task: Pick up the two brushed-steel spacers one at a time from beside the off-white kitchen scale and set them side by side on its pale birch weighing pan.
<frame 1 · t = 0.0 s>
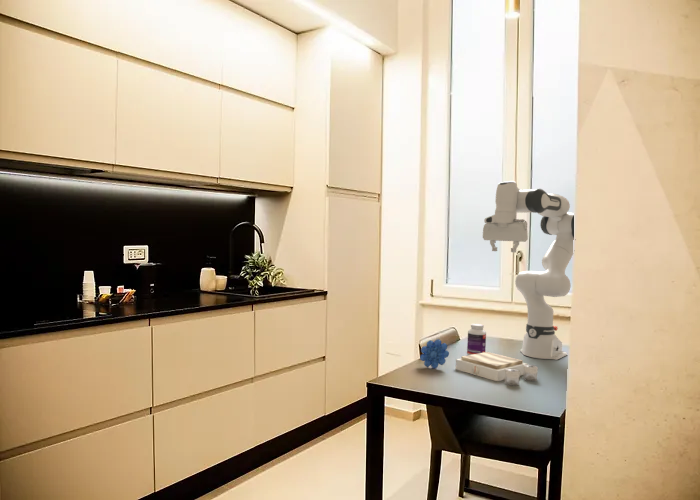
hand: (503, 251, 218), 48 cm above the table, fingers open, 8 cm apart
pill bottle: (475, 356, 232), on the table
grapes: (434, 368, 209), on the table
spacer a: (530, 379, 197), on the table
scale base: (491, 371, 206), on the table
spacer b: (511, 384, 190), on the table
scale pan: (491, 360, 206), point 5 cm above the table, slide at 0.5 cm
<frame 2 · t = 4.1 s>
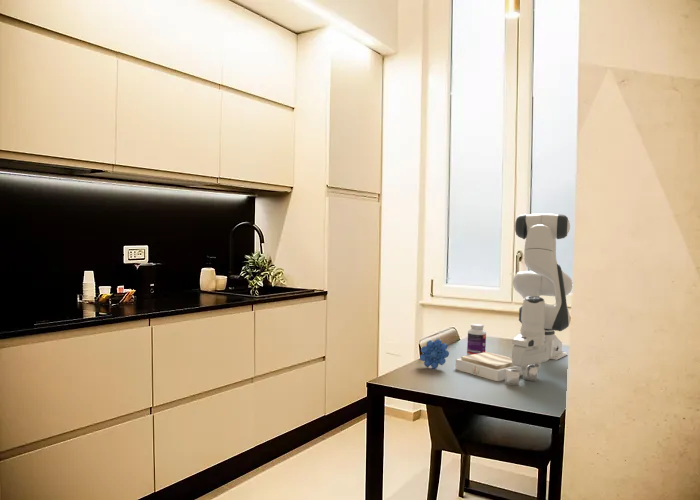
hand: (530, 375, 197), 2 cm above the table, fingers closed on spacer a, 5 cm apart
spacer a: (530, 379, 197), on the table, touching gripper
everything else where it was.
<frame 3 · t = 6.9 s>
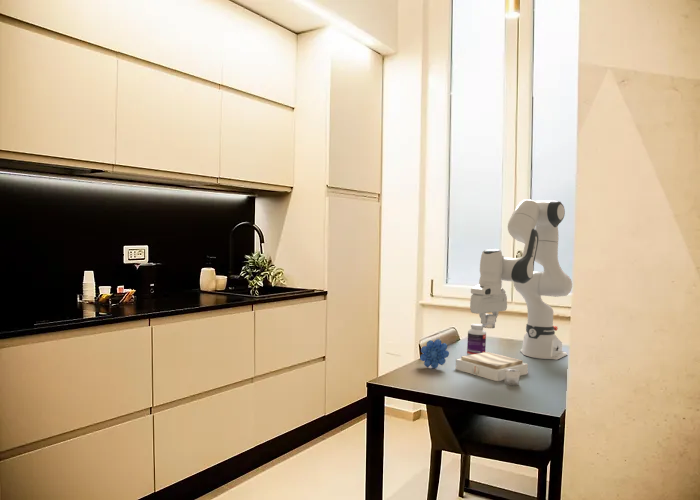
hand: (488, 323, 208), 19 cm above the table, fingers closed on spacer a, 5 cm apart
spacer a: (488, 327, 208), point 17 cm above the table, touching gripper
everything else where it was.
when the fingers open (9 cm above the table, at t = 9.5 s): spacer a drops 2 cm, resting on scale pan.
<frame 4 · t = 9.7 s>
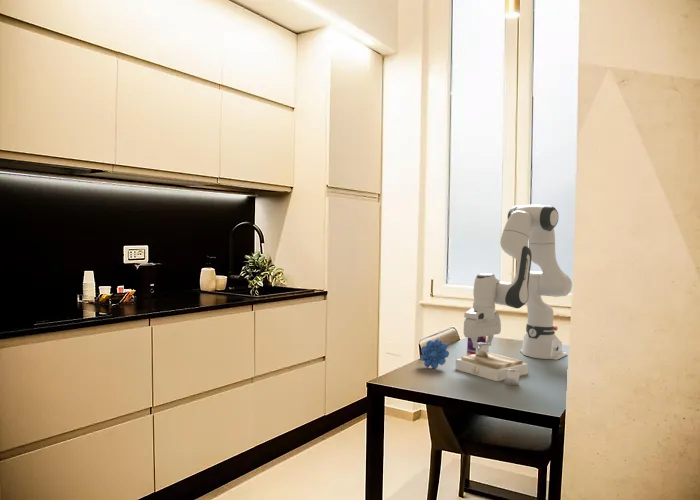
hand: (482, 346, 210), 9 cm above the table, fingers open, 7 cm apart
spacer a: (481, 355, 210), point 5 cm above the table, touching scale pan
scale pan: (491, 360, 206), point 5 cm above the table, slide at 0.6 cm, touching spacer a
everything else where it was.
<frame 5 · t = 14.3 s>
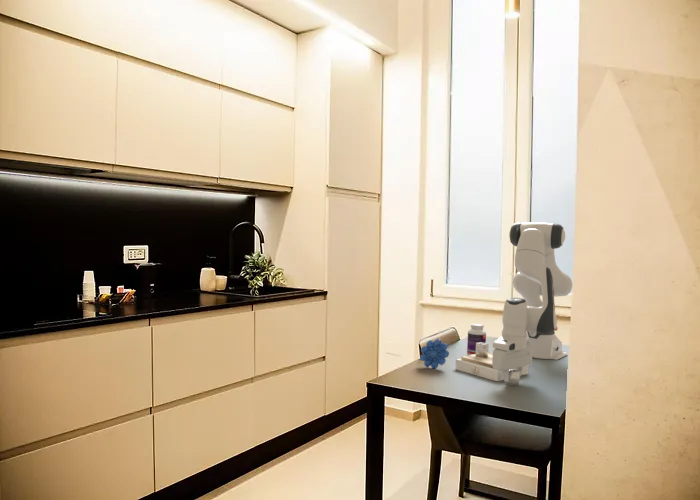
hand: (512, 379, 190), 2 cm above the table, fingers closed on spacer b, 5 cm apart
spacer b: (511, 384, 190), on the table, touching gripper
everything else where it was.
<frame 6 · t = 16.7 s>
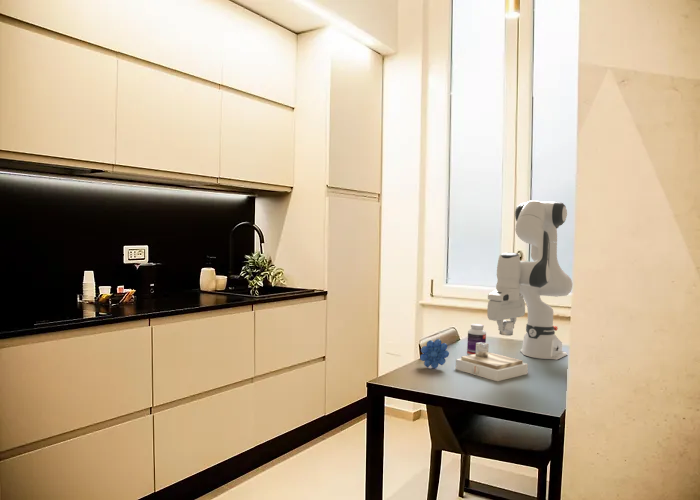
hand: (506, 329, 200), 18 cm above the table, fingers closed on spacer b, 5 cm apart
spacer b: (506, 334, 200), point 16 cm above the table, touching gripper
everything else where it was.
when the fingers open (9 cm above the table, at t = 19.2 s): spacer b drops 2 cm, resting on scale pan.
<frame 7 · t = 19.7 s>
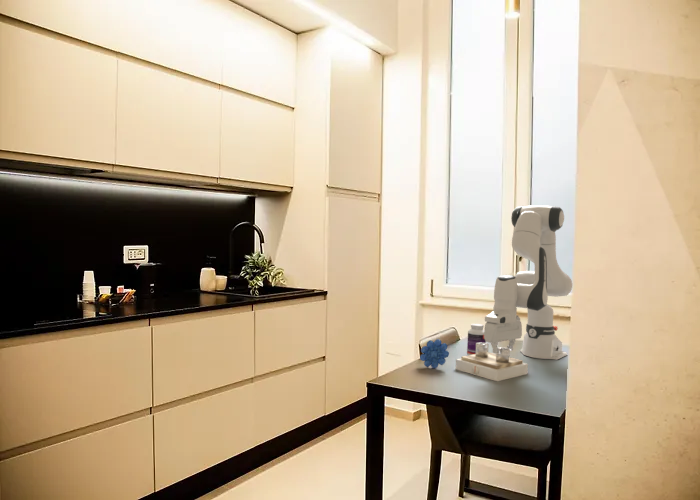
hand: (502, 351, 202), 9 cm above the table, fingers open, 8 cm apart
spacer b: (502, 361, 202), point 5 cm above the table, touching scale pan
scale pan: (491, 360, 206), point 5 cm above the table, slide at 0.6 cm, touching spacer a, spacer b
everything else where it was.
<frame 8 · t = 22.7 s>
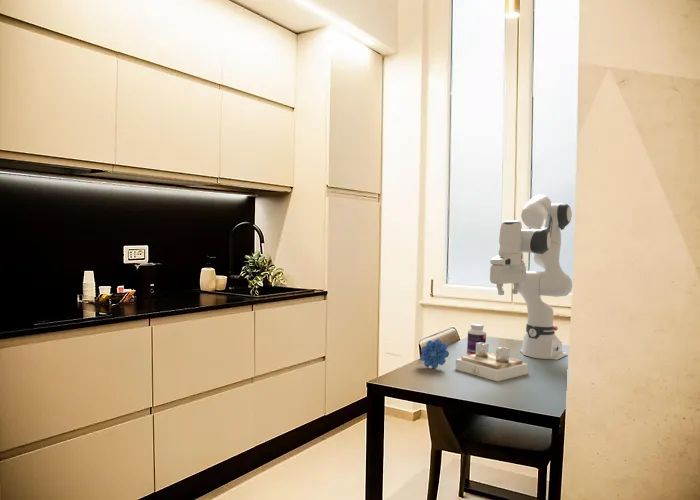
hand: (508, 294, 208), 31 cm above the table, fingers open, 8 cm apart
nothing on the table moved.
at the end: spacer a inside the target area on the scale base (0.8 cm from its centre), point 5.2 cm above the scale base's base; spacer b inside the target area on the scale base (0.8 cm from its centre), point 5.2 cm above the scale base's base; spacer b tilted 0° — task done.
